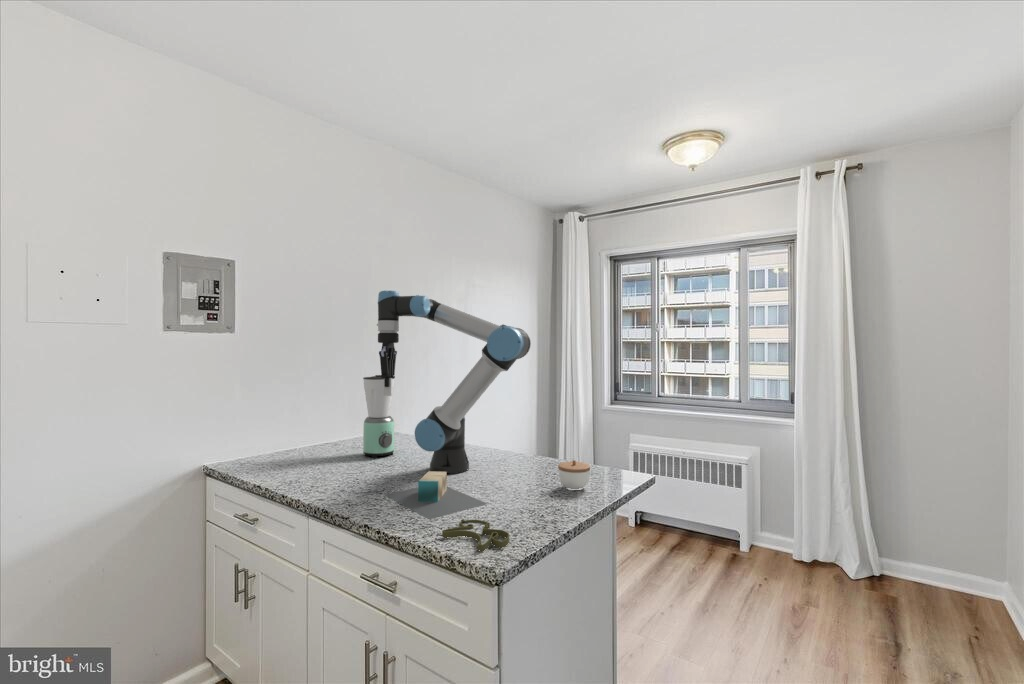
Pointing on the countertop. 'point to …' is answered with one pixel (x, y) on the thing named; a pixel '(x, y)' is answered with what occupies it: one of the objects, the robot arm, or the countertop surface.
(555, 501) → the countertop surface
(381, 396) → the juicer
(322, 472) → the countertop surface
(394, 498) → the charcoal mat
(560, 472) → the lidded jar
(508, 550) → the countertop surface
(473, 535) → the cookie cutter
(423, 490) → the maple block
